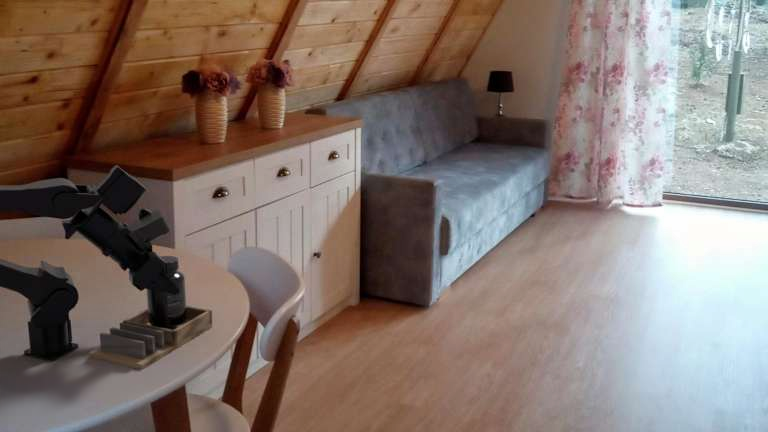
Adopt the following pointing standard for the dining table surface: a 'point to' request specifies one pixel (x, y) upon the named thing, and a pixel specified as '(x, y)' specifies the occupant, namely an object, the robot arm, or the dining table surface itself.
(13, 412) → the dining table surface
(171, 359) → the dining table surface
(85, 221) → the robot arm
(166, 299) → the supplement bottle
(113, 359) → the wooden desk organizer
